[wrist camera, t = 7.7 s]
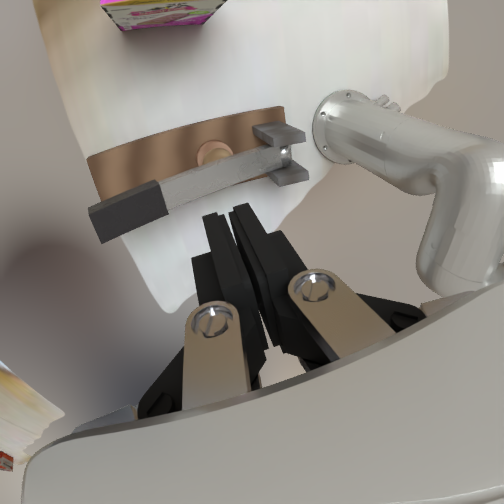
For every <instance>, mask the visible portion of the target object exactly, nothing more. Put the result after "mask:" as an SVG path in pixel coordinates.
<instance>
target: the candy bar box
mask: <svg viewBox="0 0 504 504" xmlns="http://www.w3.org/2000/svg"><path fill="white" fill-rule="evenodd" d="M226 1H227V0H100V6H101V7H102V8H103V10H104V11H105V12H106V13H107V14H108V16H109V17H110V18H111V19H112V20H113V22H114V23H115V24H116V25H117V26H118V28H119V29H120V30H121V31H126V30H132V29H140V28H149V27H159V26H173V25H196V24H204V23H205V22H206V21H207V20H208V19H209V18H210V17H211V16H212V15H213V14H214V13H215V11H217V10H218V9H219V8H220V7H221V6H222V5H223V4H224V3H225V2H226Z"/></svg>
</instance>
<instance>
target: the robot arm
mask: <svg viewBox="0 0 504 504" xmlns="http://www.w3.org/2000/svg"><path fill="white" fill-rule="evenodd" d="M346 94H347V95H346ZM388 102H389V98H388V97H387V96H386V95H383V96H381V97H380V98H379V99H378V100H377V101H373V100H370V99H369V98H368V97H367V96H365V95H364V94H362V93H360V92H357V91H353V90H341V91H337V92H335V93H332V94H331V95H329V96H328V97H327V98H325V100H324V101H323V102H322V103H321V104H320V106H319V107H318V109H317V111H316V114H315V117H314V122H313V135H314V140H315V143H316V145H317V147H318V149H319V150H320V152H321V153H322V154H323V155H324V156H325V157H327V158H328V159H329V160H331V161H333V162H335V163H339V164H352V163H356V164H358V165H360V166H361V167H363V168H365V169H367V170H368V171H370V172H372V173H373V174H375V175H377V176H378V177H380V178H382V179H383V180H385V181H387V182H388V183H390V184H392V185H393V186H395V187H397V188H398V189H400V190H402V191H403V192H405V193H408V194H411V195H419V196H422V195H429V194H433V193H436V194H435V198H434V202H433V208H432V211H431V214H430V217H429V220H428V223H427V226H426V229H425V232H424V235H423V238H422V241H421V244H420V246H419V250H418V253H417V257H416V270H417V273H418V275H419V277H420V279H421V280H422V282H423V283H424V284H425V285H426V286H427V287H428V288H429V289H431V290H432V291H433V292H435V293H437V294H438V295H440V296H441V297H443V298H440V299H437V300H433V301H429V302H426V303H421V305H420V308H417V307H415V306H413V305H410V304H405V303H400V302H396V301H391V300H386V299H382V298H376V297H372V296H367V295H363V294H358V293H354V291H352V290H351V289H350V288H349V287H348V286H347V285H346V284H345V283H344V282H343V281H342V280H341V279H340V278H339V277H338V276H337V275H335V274H334V273H332V272H330V271H327V270H324V269H310V270H308V269H307V268H306V266H305V265H304V263H303V262H302V260H301V259H300V257H299V256H298V254H297V253H296V251H295V250H294V248H293V247H292V245H291V244H290V243H289V241H288V240H287V238H286V237H285V235H284V234H283V232H282V231H281V230H279V231H275V232H272V233H269V234H267V233H266V231H265V230H264V228H263V226H262V225H261V223H260V221H259V220H258V218H257V216H256V215H255V213H254V211H253V210H252V208H251V207H250V205H249V203H245V204H242V205H238V206H235V207H233V211H232V212H229V218H230V221H231V225H232V229H233V232H234V236H235V240H236V243H235V240H234V238H233V236H232V233H231V231H230V228H229V226H228V223H227V221H226V218H225V216H224V214H222V215H219V216H218V214H217V212H215V213H212V214H209V215H206V216H202V219H203V222H204V226H205V230H206V234H207V238H208V242H209V246H210V249H211V252H208V253H205V254H202V255H199V256H196V257H193V258H191V260H192V266H193V273H194V278H195V284H196V290H197V296H198V301H199V307H197V308H196V309H195V310H194V311H193V312H191V314H190V315H189V317H188V318H187V321H186V325H185V341H184V347H183V348H182V349H181V350H180V351H179V353H178V354H177V355H176V356H175V358H174V359H173V360H172V361H171V363H170V364H169V365H168V366H167V367H166V369H165V370H164V371H163V372H162V374H161V375H160V376H159V377H158V378H157V380H156V381H155V382H154V383H153V385H152V386H151V387H150V388H149V389H148V391H147V392H146V393H145V394H144V396H143V397H142V399H141V400H140V402H139V405H137V406H135V407H133V406H132V405H128V406H125V407H123V408H121V409H118V410H116V411H114V412H111V413H109V414H107V415H104V416H101V417H99V418H96V419H94V420H92V421H89V422H86V423H84V424H81V425H80V426H78V427H76V428H75V429H74V431H73V432H72V433H71V434H70V435H67V436H65V437H62V438H59V439H57V440H55V441H53V442H51V443H49V444H48V445H46V446H44V447H43V448H41V449H40V450H39V451H37V452H36V453H35V454H34V455H33V456H32V457H31V458H30V460H29V461H28V463H27V465H26V468H25V471H24V476H23V482H22V493H21V504H504V262H503V263H499V262H500V260H501V258H502V256H503V253H504V143H502V142H499V141H497V140H493V139H491V138H488V137H484V136H479V135H475V134H470V133H466V132H462V131H458V130H454V129H450V128H447V127H444V126H441V125H438V124H435V123H431V122H429V121H425V120H423V119H420V118H416V117H413V116H410V115H407V114H403V113H400V111H401V109H400V107H399V105H398V104H397V103H395V102H393V103H391V104H390V105H389V106H388V107H386V108H383V107H382V106H383V105H385V104H386V103H388ZM321 112H322V114H321ZM323 146H324V147H323ZM236 244H237V245H236ZM237 247H238V248H237ZM259 312H260V313H259ZM260 314H261V316H262V319H263V322H264V324H265V327H266V329H267V332H268V334H269V337H270V339H271V341H272V344H273V346H274V347H275V346H278V345H280V347H281V349H282V352H283V353H288V354H291V355H294V356H297V357H298V359H299V361H300V363H301V365H302V366H303V368H304V369H305V371H306V373H304V374H301V375H298V376H296V377H293V378H290V379H287V380H284V381H282V382H279V383H276V384H273V385H270V386H267V387H264V388H262V384H261V378H260V375H259V371H260V369H261V368H262V366H263V365H264V363H265V361H266V357H265V353H264V350H266V349H269V347H268V343H267V339H266V336H265V332H264V328H263V325H262V321H261V317H260Z"/></svg>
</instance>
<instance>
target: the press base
mask: <svg viewBox="0 0 504 504" xmlns="http://www.w3.org/2000/svg"><path fill="white" fill-rule="evenodd" d="M302 142H306V137H305V132H303V131H301V130H299V129H297V128H294V127H292V126H290V125H288V124H286V121H285V113H284V107H282V106H276V107H270V108H264V109H258V110H253V111H248V112H242V113H237V114H232V115H228V116H223V117H219V118H214V119H210V120H206V121H201V122H197V123H193V124H189V125H186V126H182V127H178V128H174V129H171V130H167V131H164V132H160V133H157V134H154V135H150V136H147V137H144V138H141V139H138V140H135V141H132V142H128V143H126V144H123V145H120V146H117V147H114V148H111V149H108V150H106V151H103V152H100V153H97V154H95V155H92V156H90V157H88V158H87V159H86V160H87V163H88V166H89V169H90V172H91V175H92V177H93V180H94V183H95V186H96V188H97V191H98V194H99V196H100V199H101V202H102V201H104V200H106V199H109V198H111V197H113V196H115V195H118V194H120V193H122V192H125V191H127V190H129V189H132V188H134V187H137V186H139V185H141V184H144V183H146V182H149V181H151V180H154V179H155V180H156V181H157V182H159V181H161V180H164V179H166V178H169V177H171V176H174V175H177V174H179V173H182V172H185V171H188V170H190V169H193V168H196V167H199V166H201V165H204V164H207V163H210V162H213V161H216V160H219V159H222V158H225V157H228V156H231V155H234V154H237V153H240V152H244V151H247V150H250V149H253V148H256V147H260V146H263V145H267V144H269V145H271V146H272V147H274V148H277V147H281V146H286V145H292V144H297V143H302ZM267 176H268V177H269V178H271V179H272V180H273V181H274V182H275V183H276V184H277V185H278V186H279V187H281V186H285V185H289V184H294V183H298V182H302V181H306V180H309V173H308V170H306V169H305V168H303V167H302V166H301V165H299V164H298V163H296V162H295V161H293V160H292V165H291V166H288V167H281V168H278V169H276V170H273V171H270V172H267V173H264V174H261V175H258V176H256V177H253V178H250V179H247V180H245V181H242V182H239V183H243V182H247V181H251V180H255V179H259V178H263V177H267ZM239 183H236V184H239ZM234 185H235V184H234Z"/></svg>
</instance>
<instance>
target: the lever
mask: <svg viewBox="0 0 504 504" xmlns="http://www.w3.org/2000/svg"><path fill="white" fill-rule="evenodd" d="M291 165H292V155H291V145H286V146H281V147H277V148H274V147H272V146H271V145H269V144H267V145H263V146H260V147H256V148H253V149H250V150H247V151H244V152H240V153H237V154H234V155H231V156H228V157H225V158H222V159H219V160H216V161H213V162H210V163H207V164H204V165H201V166H199V167H196V168H193V169H190V170H188V171H185V172H182V173H179V174H177V175H174V176H171V177H169V178H166V179H164V180H161V181H159V182H157V181H156V180H155V179H154V180H151V181H149V182H146V183H144V184H141V185H139V186H137V187H134V188H132V189H129V190H127V191H125V192H122V193H120V194H118V195H115V196H113V197H111V198H109V199H106V200H104V201H102V202H100V203H97V204H95V205H93V206H91V207H89V208H88V211H89V217H90V219H91V221H92V224H93V226H94V228H95V230H96V233H97V235H98V237H99V239H100V241H101V244H103V243H105V242H107V241H109V240H112V239H113V238H116V237H118V236H120V235H122V234H125V233H127V232H129V231H131V230H134V229H136V228H138V227H140V226H143V225H145V224H147V223H149V222H152V221H154V220H156V219H159V218H161V217H163V216H166V215H168V214H169V213H168V210H170V209H173V208H175V207H177V206H180V205H182V204H185V203H187V202H190V201H192V200H195V199H197V198H200V197H202V196H205V195H207V194H210V193H213V192H215V191H218V190H220V189H223V188H226V187H228V186H231V185H234V184H236V183H239V182H242V181H245V180H247V179H250V178H253V177H256V176H258V175H261V174H264V173H267V172H270V171H273V170H276V169H278V168H281V167H288V166H291Z"/></svg>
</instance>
